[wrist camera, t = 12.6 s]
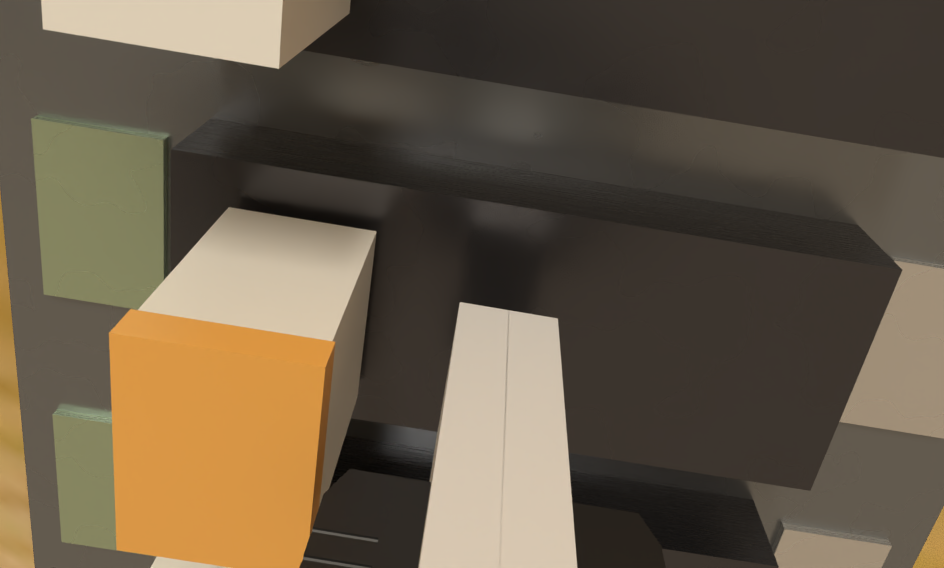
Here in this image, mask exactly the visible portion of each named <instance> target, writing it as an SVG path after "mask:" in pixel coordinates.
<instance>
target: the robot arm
mask: <svg viewBox="0 0 944 568" xmlns="http://www.w3.org/2000/svg"><path fill="white" fill-rule="evenodd" d="M299 568H666V566H665V561H664V556H663V552H662V547H661V545H660V544H659V542H658V541H657V539H656V538H655V536H654V535H653V534H652V532H651V531H650V529H649V528H648V526H647V525H646V524H645V522H644V521H643V519H642V518H641V516H640V515H639V514H638V513H634V512H628V511H622V510H616V509H609V508H603V507H597V506H591V505H585V504H579V503H573V502H572V494H571V481H570V468H569V455H568V442H567V429H566V417H565V404H564V391H563V378H562V365H561V352H560V340H559V327H558V318H552V317H546V316H540V315H534V314H528V313H522V312H516V311H510V310H504V309H498V308H492V307H486V306H481V305H475V304H469V303H463V302H460V304H459V310H458V315H457V321H456V327H455V333H454V339H453V345H452V350H451V356H450V362H449V368H448V374H447V379H446V385H445V391H444V397H443V403H442V409H441V414H440V420H439V426H438V432H437V438H436V444H435V449H434V456H433V462H432V468H431V475H430V481H429V482H428V481H422V480H415V479H409V478H403V477H397V476H391V475H385V474H379V473H373V472H367V471H361V470H354V469H349V470H348V471H347V472H346V473H345V474H344V475H343V476H342V477H341V478H340V479H339V480H338V481H337V482H336V483H334V484H333V485H332V486H331V487H330V488H329V489H328V490H327V491H326V492H325V493H324V494H323V497H322V500H321V503H320V506H319V509H318V512H317V515H316V518H315V522H314V525H313V528H312V533H311V534H310V537H309V540H308V543H307V546H306V549H305V552H304V555H303V560H302V562H301V564H300V567H299Z"/></svg>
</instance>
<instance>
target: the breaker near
mask: <svg viewBox="0 0 944 568" xmlns="http://www.w3.org/2000/svg"><path fill="white" fill-rule="evenodd" d="M350 1H351V0H41V6H42V22H43V29H44V30H50V31H56V32H62V33H68V34H74V35H80V36H86V37H92V38H98V39H104V40H110V41H116V42H122V43H128V44H134V45H140V46H146V47H152V48H158V49H164V50H170V51H176V52H182V53H188V54H194V55H200V56H206V57H212V58H218V59H224V60H230V61H236V62H242V63H248V64H254V65H260V66H266V67H272V68H277V69H279V68H281V67H282V66H283V65H284V64H286V63H287V62H288V61H289V60H291V59H292V58H293V57H294V56H296V55H297V54H298V53H300V52H301V51H302V50H303V49H305V48H306V47H307V46H308V45H310V44H311V43H312V42H314V41H315V40H316V39H317V38H319V37H320V36H321V35H322V34H324V33H325V32H326V31H328V30H329V29H330V28H331V27H333V26H334V25H335V24H336V23H338V22H339V21H340V20H342V19H343V18H344V17H345V16H347V15H348V14H349V12H350Z"/></svg>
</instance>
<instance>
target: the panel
mask: <svg viewBox="0 0 944 568" xmlns="http://www.w3.org/2000/svg"><path fill="white" fill-rule="evenodd" d="M0 190H1V201H2V212H3V223H4V234H5V245H6V256H7V267H8V278H9V289H10V300H11V311H12V322H13V333H14V344H15V355H16V366H17V376H18V387H19V398H20V409H21V420H22V431H23V442H24V453H25V464H26V475H27V486H28V497H29V508H30V519H31V530H32V541H33V552H34V563H35V568H151V566H152V564H153V562H154V560H155V559H156V557H157V556H151V555H145V554H138V553H132V552H125V551H119V550H117V548H116V519H115V491H114V462H113V434H112V406H111V377H110V349H109V332H110V331H111V330H112V329H113V328H114V327H115V326H116V325H117V323H118V322H119V321H120V320H121V319H122V318H123V317H124V316H125V315H126V313H127V312H128V311H129V310H130V309H134V310H138V309H139V308H140V307H141V306H142V305H143V303H144V302H145V301H146V300H147V299H148V298H149V297H150V295H151V294H152V293H153V292H154V291H155V290H156V289H157V288H158V286H159V285H160V284H161V283H162V282H163V281H164V280H165V279H166V277H167V276H168V275H169V274H170V273H171V272H172V271H173V270H174V268H175V267H176V266H177V265H178V264H179V263H180V262H181V260H182V259H183V258H184V257H185V256H186V255H187V254H188V253H189V251H190V250H191V249H192V248H193V247H194V246H195V245H196V244H197V242H198V241H199V240H200V239H201V238H202V237H203V236H204V235H205V233H206V232H207V231H208V230H209V229H210V228H211V227H212V225H213V224H214V223H215V222H216V221H217V220H218V219H219V218H220V216H221V215H222V214H223V213H224V212H225V211H226V210H227V209H228V207H231V208H237V209H243V210H249V211H255V212H261V213H267V214H273V215H280V216H286V217H292V218H298V219H304V220H310V221H316V222H322V223H328V224H335V225H341V226H347V227H353V228H359V229H365V230H371V231H377V233H376V241H375V250H374V259H373V267H372V276H371V285H370V293H369V302H368V311H367V319H366V328H365V337H364V345H363V354H362V362H361V371H360V380H359V388H358V397H357V400H356V403H355V406H354V410H353V413H352V416H351V419H350V423H349V426H348V429H347V432H346V435H345V439H344V442H343V445H342V448H341V452H340V455H339V458H338V461H337V464H336V468H335V471H334V474H333V477H332V481H331V484H330V487H331V486H332V485H333V484H334V483H336V482H337V481H338V480H339V479H340V478H341V477H342V476H343V475H344V474H345V473H346V472H347V471H348V470H349V469H354V470H361V471H367V472H373V473H379V474H385V475H391V476H397V477H403V478H409V479H415V480H422V481H428V482H429V481H430V475H431V468H432V462H433V456H434V449H435V444H436V438H437V432H438V426H439V420H440V414H441V409H442V403H443V397H444V391H445V385H446V379H447V374H448V368H449V362H450V356H451V350H452V345H453V339H454V333H455V327H456V321H457V315H458V310H459V304H460V302H463V303H469V304H475V305H481V306H486V307H492V308H498V309H504V310H510V311H516V312H522V313H528V314H534V315H540V316H546V317H552V318H558V327H559V340H560V352H561V365H562V378H563V391H564V404H565V417H566V429H567V442H568V455H569V468H570V481H571V494H572V502H573V503H579V504H585V505H591V506H597V507H603V508H609V509H616V510H622V511H628V512H634V513H638V514H639V515H640V516H641V518H642V519H643V521H644V522H645V524H646V525H647V526H648V528H649V529H650V531H651V532H652V534H653V535H654V536H655V538H656V539H657V541H658V542H659V544H660V545H661V547H662V552H663V556H664V561H665V566H666V568H912V567H913V565H914V563H915V561H916V559H917V557H918V555H919V553H920V551H921V549H922V547H923V546H924V544H925V542H926V540H927V538H928V536H929V534H930V532H931V530H932V528H933V526H934V524H935V522H936V520H937V518H938V516H939V514H940V512H941V510H942V508H943V506H944V0H351V1H350V12H349V14H348V15H347V16H345V17H344V18H343V19H342V20H340V21H339V22H338V23H336V24H335V25H334V26H333V27H331V28H330V29H329V30H328V31H326V32H325V33H324V34H322V35H321V36H320V37H319V38H317V39H316V40H315V41H314V42H312V43H311V44H310V45H308V46H307V47H306V48H305V49H303V50H302V51H301V52H300V53H298V54H297V55H296V56H294V57H293V58H292V59H291V60H289V61H288V62H287V63H286V64H284V65H283V66H282V67H281V68H279V69H277V68H272V67H266V66H260V65H254V64H248V63H242V62H236V61H230V60H224V59H218V58H212V57H206V56H200V55H194V54H188V53H182V52H176V51H170V50H164V49H158V48H152V47H146V46H140V45H134V44H128V43H122V42H116V41H110V40H104V39H98V38H92V37H86V36H80V35H74V34H68V33H62V32H56V31H50V30H44V29H43V22H42V6H41V0H0ZM330 487H329V488H330Z"/></svg>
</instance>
